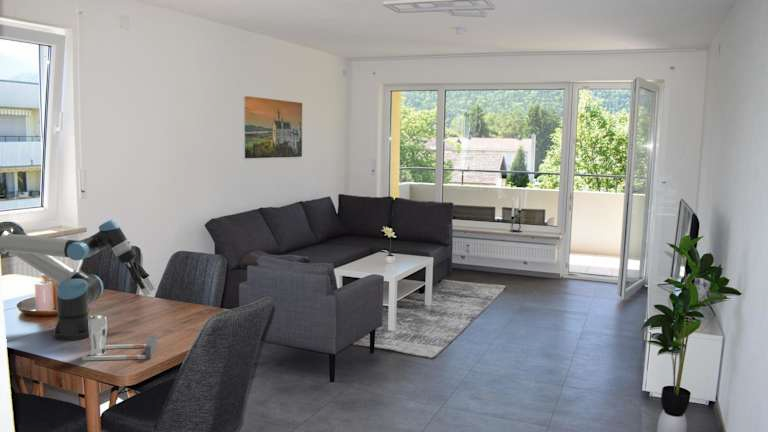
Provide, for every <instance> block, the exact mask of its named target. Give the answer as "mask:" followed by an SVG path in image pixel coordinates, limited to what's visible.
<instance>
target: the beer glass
mask: <svg viewBox="0 0 768 432" xmlns="http://www.w3.org/2000/svg"><path fill="white" fill-rule="evenodd" d="M88 334H89V337H88V338H89V344H90V351H89V356H106V354H107V349H106V347H105V345H106V343H107V342H106V341H107V334H108V319H107V315H105V314H94V315H91V316H88Z"/></svg>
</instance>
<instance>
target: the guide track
mask: <svg viewBox="0 0 768 432" xmlns="http://www.w3.org/2000/svg"><path fill="white" fill-rule="evenodd" d="M157 336H158V335H157V334H151V335H150V337H149V339H148V340H147V343H135V344H128V343H127V344H105V347H106V350H110V349H113V350H116V349H144V350H145V351H144V352H145V353H144V354H126V355H125V354H123V355H103V356H91V355H89V356H87V355H86V356H82V358H81V359H82V362H83V361H107V360H108V361H110V360H112V361H113V360H114V361H115V360H149V359H152V357H153V355H154V353H155V350H156V349H157V347H158V341H157V339H158V338H157Z"/></svg>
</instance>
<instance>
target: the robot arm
mask: <svg viewBox="0 0 768 432" xmlns="http://www.w3.org/2000/svg"><path fill="white" fill-rule="evenodd" d="M98 230H99V231H98V232H96V233H94V234H93V235H91V236H89V237H86V238H84V239H81V240H78V239H66V238H56V237H55V238H54V237H46V236H34V235H29V234H28V233H26V232H25V229H24V228H23V226H22V225H20V224H19V223H17V222H15V221H2V222H0V254H3V255H5V254H6V255H7V256H8V257H16V258H19V259H20V260H22V261H23V262H24V263H26V264H28V266H31V267H32V268H34V269H35V270H37V271H38V272H40V273H41V274H43V275H44V276H46V277H47V278H48V279H51V280H52V281H54V282H55V283H57V286H56V288H57V289H56V299H57V301H56V304H57V305H56V306H57V320H56V324H55V326H54V330H53V338H54V339H55V340H59V341H77V340H81V339H82V340H83V339H86V338H89V334H88V318H89V304H91V303H93V302H95V301H97V300H98V299H100V297H101V296H102V294H103V292H104V283H103V279H102V280H101V278H100V277H99V276H98V275H96V274H87V272H84V271H83V270H82V269H78V270H77V269H76V270H75V269H74V268H72V267H70V266H69V265H68V264H66V263H65V262H63V261H61V260H60V259H58V258H59V257H61V258H69V259H70V260H73V261H81V260H84V259H86V258H90V257H93V256H94V255H96V254H97V253H99V252H100V251H103V250H104V249H106V248H107V247H110V248H111V249H112V252H113V253H114V255H115V256H116V257H117V259H118V260H119V263H120V264H125V267H126V269H127V270H128V271H129V274H130V276H131V278H132V280H133V282H134V285H136V286H138V288H139V289H140V290H141V293H142V294H143V296H144V297H147V296H149V295H150V294H152V293H151V292H153V291H154V290H156V287H155V285H154V284H153V282H152V280H151V279H150V277H149V276H150V274H149V273H148V272H147V271H146V270H145V269H144V268H143V266H142V265H141V264H140V263H139V260H138V259H137V258H135V257H137V255H138V254H137V253H136V251H135V250H134V248H132V245H131V244H130V243H131V241H130V240H128V238H127V237H126V235H125V233H124V232H123V230H122V228H121V227H120V226H119V225H118V223H117V221H116V220H115V219H109V220H107V221H105V222H103V223H102V224H100V225H99V226H98ZM57 257H58V258H57Z"/></svg>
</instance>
